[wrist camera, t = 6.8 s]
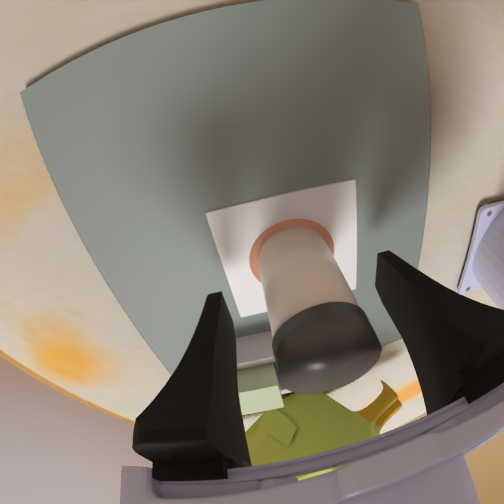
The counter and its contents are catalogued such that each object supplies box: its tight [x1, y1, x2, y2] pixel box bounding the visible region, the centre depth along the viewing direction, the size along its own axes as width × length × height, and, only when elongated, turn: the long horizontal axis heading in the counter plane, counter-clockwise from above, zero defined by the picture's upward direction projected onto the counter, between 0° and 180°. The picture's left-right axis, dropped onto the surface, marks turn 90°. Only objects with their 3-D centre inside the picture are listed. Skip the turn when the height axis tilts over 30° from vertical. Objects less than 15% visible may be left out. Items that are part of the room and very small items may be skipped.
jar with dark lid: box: [257, 226, 381, 394], centre depth 12 cm, size 4×4×7 cm
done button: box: [237, 362, 284, 415], centre depth 18 cm, size 3×3×2 cm
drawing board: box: [20, 0, 431, 394], centre depth 14 cm, size 18×23×2 cm
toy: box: [245, 380, 402, 481], centre depth 22 cm, size 6×17×20 cm
